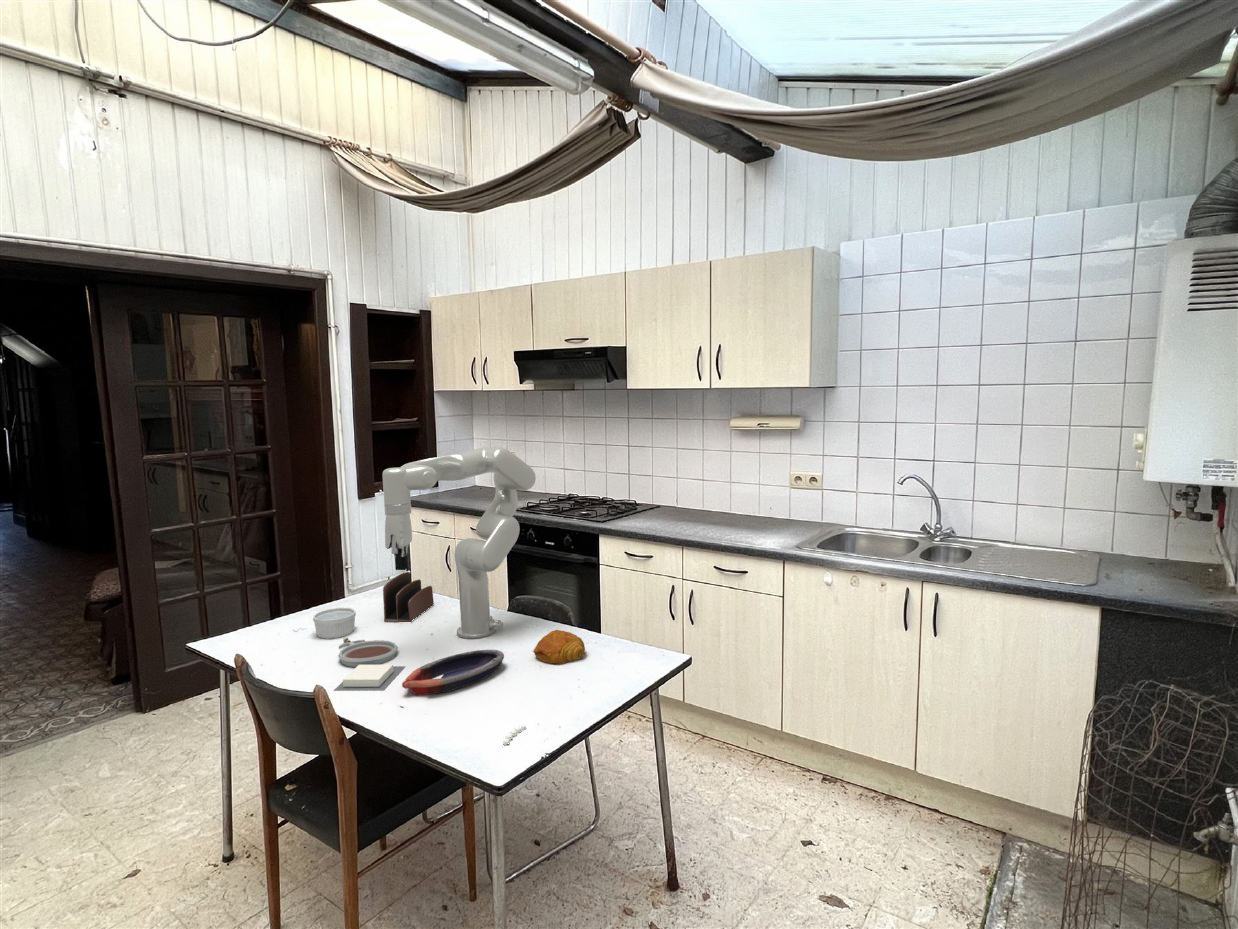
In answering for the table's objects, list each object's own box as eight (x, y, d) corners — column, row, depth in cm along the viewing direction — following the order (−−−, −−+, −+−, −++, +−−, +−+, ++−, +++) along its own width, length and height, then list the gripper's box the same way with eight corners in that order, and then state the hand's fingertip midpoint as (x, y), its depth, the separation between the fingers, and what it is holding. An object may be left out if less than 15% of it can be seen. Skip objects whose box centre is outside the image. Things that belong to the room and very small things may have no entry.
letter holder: (384, 622, 237) (381, 583, 236) (409, 605, 257) (407, 568, 255) (410, 623, 236) (408, 584, 234) (434, 605, 255) (432, 569, 254)
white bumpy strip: (522, 722, 163) (523, 716, 162) (538, 728, 161) (539, 722, 161) (486, 752, 149) (487, 746, 149) (503, 759, 147) (503, 753, 147)
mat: (406, 667, 197) (405, 666, 196) (384, 692, 181) (384, 690, 181) (359, 668, 197) (359, 666, 197) (333, 692, 181) (333, 690, 181)
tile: (393, 664, 192) (378, 679, 182) (393, 672, 192) (379, 687, 182) (358, 664, 193) (342, 679, 183) (359, 672, 193) (343, 687, 183)
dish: (517, 672, 192) (516, 655, 191) (414, 707, 172) (413, 689, 171) (489, 657, 203) (488, 641, 203) (390, 688, 183) (389, 671, 183)
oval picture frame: (370, 629, 224) (407, 648, 203) (371, 637, 224) (407, 657, 204) (317, 641, 213) (350, 662, 192) (317, 650, 213) (350, 672, 192)
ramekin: (365, 630, 229) (363, 610, 228) (330, 643, 218) (328, 622, 217) (340, 624, 236) (339, 605, 236) (306, 636, 225) (304, 616, 225)
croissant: (561, 649, 213) (559, 624, 213) (594, 656, 202) (591, 629, 202) (524, 662, 203) (521, 635, 204) (556, 669, 192) (553, 641, 192)
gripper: (395, 505, 208) (398, 563, 210) (375, 514, 193) (379, 576, 195) (419, 504, 208) (422, 562, 210) (400, 513, 193) (404, 576, 195)
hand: (401, 569), depth 203 cm, fingers closed
